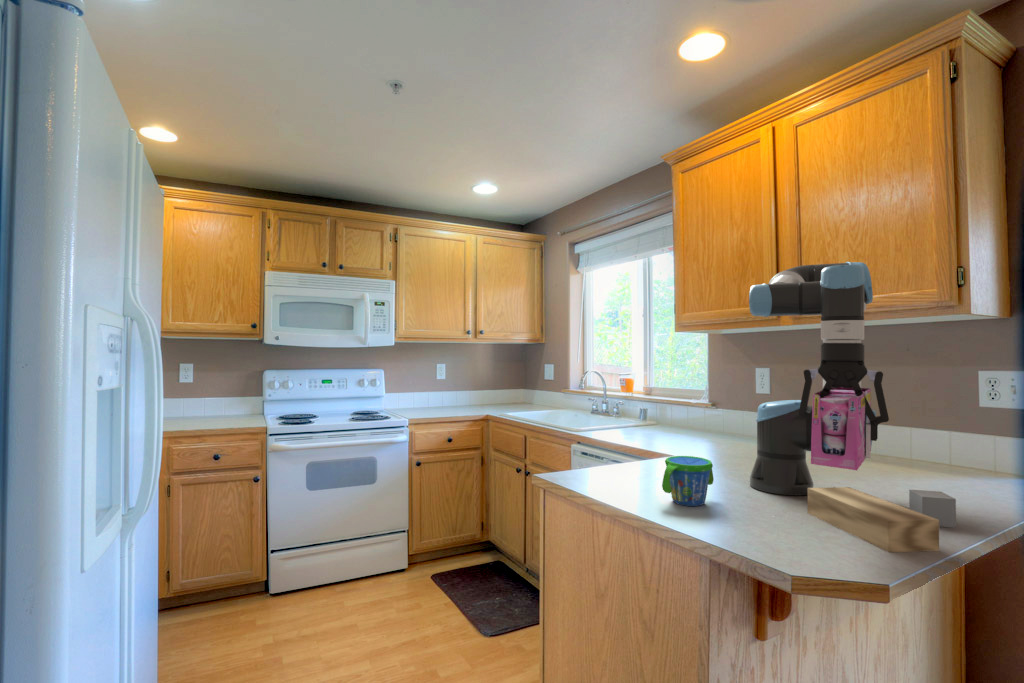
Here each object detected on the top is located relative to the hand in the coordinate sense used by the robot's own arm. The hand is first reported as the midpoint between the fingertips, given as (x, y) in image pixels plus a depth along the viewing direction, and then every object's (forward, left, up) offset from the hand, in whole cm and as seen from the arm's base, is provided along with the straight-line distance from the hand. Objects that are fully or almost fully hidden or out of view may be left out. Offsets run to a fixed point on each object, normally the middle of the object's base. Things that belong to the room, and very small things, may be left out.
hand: (842, 454), depth 107 cm
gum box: (0, +1, -1) cm, 1 cm away
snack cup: (-31, +4, -16) cm, 35 cm away
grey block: (+17, +18, -16) cm, 30 cm away
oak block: (+4, +4, -16) cm, 17 cm away
